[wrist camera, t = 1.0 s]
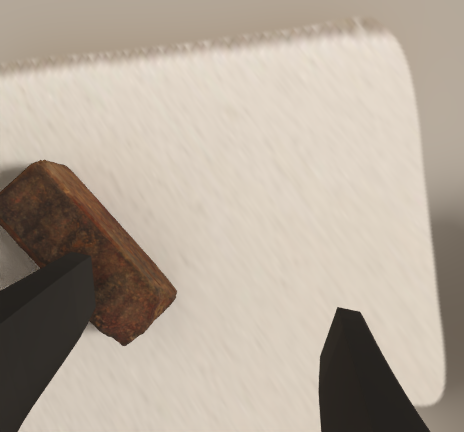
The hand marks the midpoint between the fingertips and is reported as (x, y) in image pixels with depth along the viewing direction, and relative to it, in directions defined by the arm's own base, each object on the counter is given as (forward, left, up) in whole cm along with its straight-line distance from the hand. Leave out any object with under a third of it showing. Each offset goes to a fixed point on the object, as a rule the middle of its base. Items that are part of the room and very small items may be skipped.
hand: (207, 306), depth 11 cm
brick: (-1, +7, -14) cm, 16 cm away
